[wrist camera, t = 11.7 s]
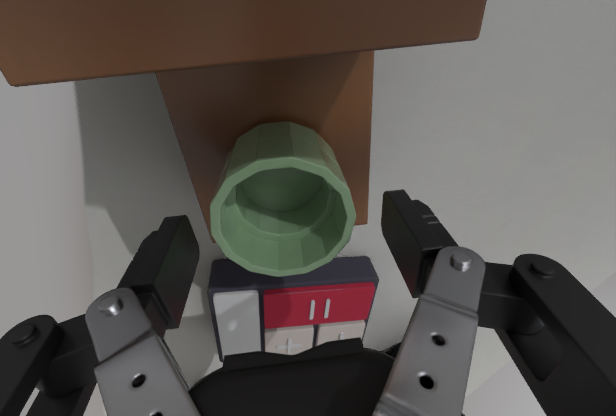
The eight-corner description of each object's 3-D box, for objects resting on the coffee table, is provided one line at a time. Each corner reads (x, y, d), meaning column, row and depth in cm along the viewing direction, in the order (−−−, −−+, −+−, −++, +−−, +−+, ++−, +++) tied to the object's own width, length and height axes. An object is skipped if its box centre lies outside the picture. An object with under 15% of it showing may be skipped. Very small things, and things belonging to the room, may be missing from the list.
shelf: (150, -76, 15) (-273, -379, 3) (347, -93, 15) (576, -417, 4) (225, 194, 24) (179, 369, 12) (348, 180, 24) (417, 336, 13)
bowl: (212, 124, 15) (189, 168, 11) (334, 111, 15) (357, 149, 11) (237, 221, 18) (227, 283, 14) (337, 209, 18) (355, 267, 14)
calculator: (363, 355, 32) (218, 371, 30) (352, 320, 36) (222, 332, 33) (383, 283, 26) (205, 297, 24) (368, 251, 30) (211, 259, 27)
